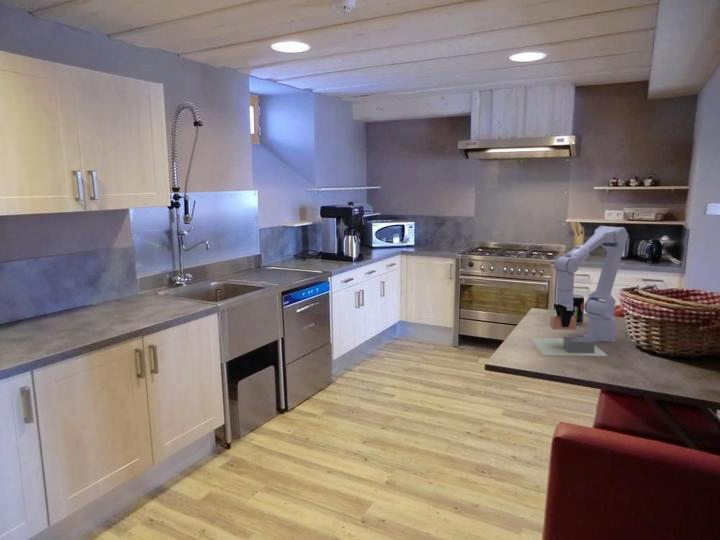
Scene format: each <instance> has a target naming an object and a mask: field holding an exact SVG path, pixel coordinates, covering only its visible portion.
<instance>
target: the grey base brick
mask: <svg viewBox="0 0 720 540" xmlns="http://www.w3.org/2000/svg"><path fill="white" fill-rule="evenodd" d="M563 339H564V340H563V348H564V349H565V350H566V351H567V352H569V353H594V348H595V345H596V341H593V340H592V339H591V338H589V337H585V336H563Z"/></svg>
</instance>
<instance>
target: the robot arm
mask: <svg viewBox="0 0 720 540" xmlns="http://www.w3.org/2000/svg"><path fill="white" fill-rule="evenodd" d="M628 238H629V234H628V232H627V229H626V228H625V227H624V226H619V227H617V226H606V225H600V226H598V227H597V228H596V229H594V233H593V235H592V236H591V237H589V239H587V241H585V243H584V244H578V245H575V246H574V247H573V248H572V249H571V250H570V251H568V252H567V253H566V254H565V255H564V256H561V255H560V256H559V257H557V258H556V260H555V262H554V264H553V267H554V270H555V275H556V298H555V299H553V300H552V303H553V307H554V310H555V312H556V316H561V324H562V327H569V324H570V320H571V318H572V316H573V314H574V312H575V309H573V295H574V287H575V285H574V283H575V273H577V272H578V270H579V267H580V266H581V264H582V263H583V262H584V261H586V260H587V259H588V258H589V257H590V252H592V251H594V250H595V249H597V248H598V247H599V246H601V247H602V248H603V249H604V250H605V251H606V253H605V254H606V255H605V257H604V261H603V265H602V268H601V271H600V276H599V278H598V282H597V285H596V288H595V291H593V292H591V293H589V294H588V297H587V299H586V301H584V312H585V313H586V316H588V319H587V320H588V321H587V323H588V324H587V334H583V337H589V338H591V339H592V340H593V341H594V342H616V341H617V340H616V335H617V334H616V333H617V322H616V319H615V317H613V316H614V314H615V311H616V308H615V306H616V301H617V300H616V299H615V298H614V297H613V295H612V291H613V287H614V284H615V281H616V277H617V274H618V270H619V267H620V264H621V261H622V260H621V258H622V256H623V252H624V250H625V249H626V248H625V247H626V245H627V241H628Z"/></svg>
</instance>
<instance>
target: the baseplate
mask: <svg viewBox="0 0 720 540" xmlns="http://www.w3.org/2000/svg"><path fill="white" fill-rule="evenodd" d="M529 338H530V337H529ZM530 340H531V342H532V344H534V346H535V347H536V348H537V350H538V351H539V352H540V353H541V354H542V355H543V356H586V357H589V356H591V357H594V356H595V357H599V356H600V357H602V356H603V357H608V355H607V354H606V353H605V352H604V351H602V349H600V348H599V347H598V346H597V345H596V344H595V348H594V353H569V352H567V351H566V350H565V349H564V348H563V340H564V338H557V337H555V338H553V337H550V338H549V337H546V338H542V337H541V338H539V337H536V338H535V337H532V338H530Z"/></svg>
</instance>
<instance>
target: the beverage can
mask: <svg viewBox="0 0 720 540" xmlns="http://www.w3.org/2000/svg"><path fill="white" fill-rule="evenodd" d="M584 304H585V298H584V296H583V295H581V294H573V309H575V312H574V314H573V317H574V318H576V325H582V323H584V312H585V310H584Z"/></svg>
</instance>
